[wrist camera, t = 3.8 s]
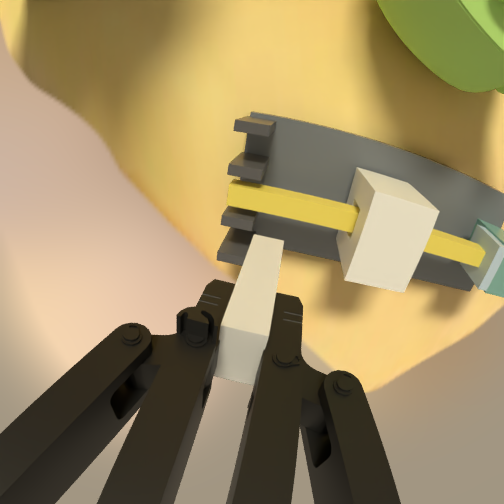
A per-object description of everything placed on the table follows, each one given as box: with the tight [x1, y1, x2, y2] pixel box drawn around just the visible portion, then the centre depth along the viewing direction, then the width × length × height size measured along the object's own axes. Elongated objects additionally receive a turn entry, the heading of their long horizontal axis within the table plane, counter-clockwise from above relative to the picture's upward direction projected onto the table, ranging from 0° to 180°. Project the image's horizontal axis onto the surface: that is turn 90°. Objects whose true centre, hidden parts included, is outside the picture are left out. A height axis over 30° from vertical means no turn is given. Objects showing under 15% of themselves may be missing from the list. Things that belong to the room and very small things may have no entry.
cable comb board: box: [217, 112, 504, 297], centre depth 22 cm, size 28×12×7 cm, turn 81°
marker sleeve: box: [336, 167, 440, 293], centre depth 21 cm, size 5×7×7 cm
